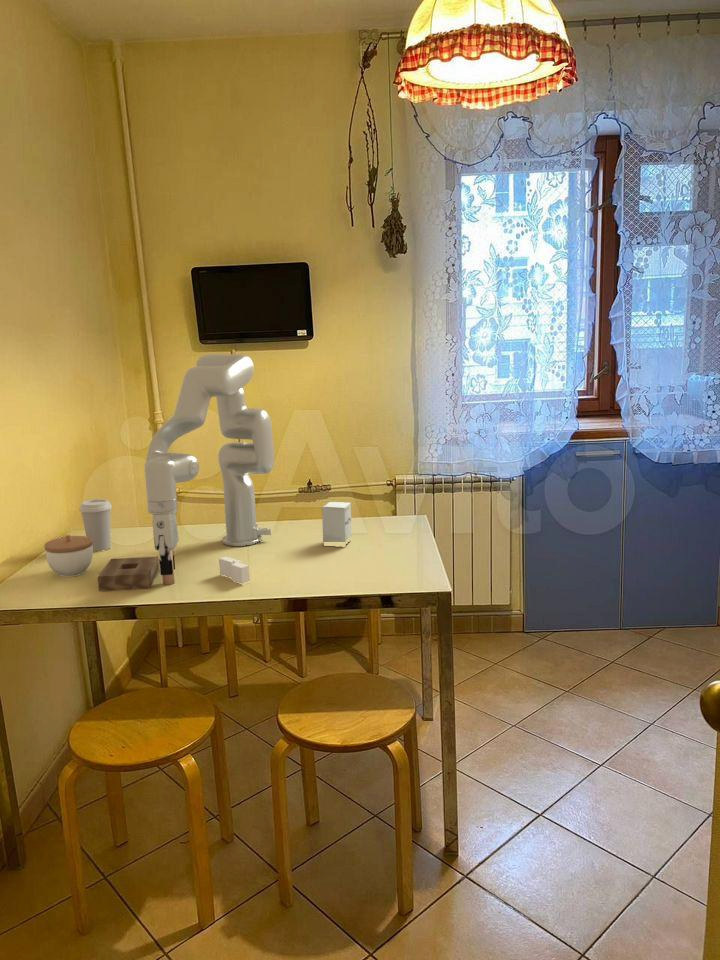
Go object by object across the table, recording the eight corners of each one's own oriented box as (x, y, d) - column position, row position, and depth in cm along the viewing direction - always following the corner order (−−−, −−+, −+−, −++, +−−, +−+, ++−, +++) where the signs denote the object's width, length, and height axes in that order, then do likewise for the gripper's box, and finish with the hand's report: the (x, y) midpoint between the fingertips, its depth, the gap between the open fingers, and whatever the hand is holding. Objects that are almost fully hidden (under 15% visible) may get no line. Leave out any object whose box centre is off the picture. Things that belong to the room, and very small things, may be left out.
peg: (175, 580, 203) (172, 545, 201) (173, 584, 200) (170, 548, 198) (164, 581, 203) (161, 545, 201) (162, 585, 200) (159, 549, 198)
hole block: (159, 570, 212) (158, 556, 212) (149, 588, 198) (148, 573, 197) (112, 572, 211) (111, 558, 211) (98, 591, 197) (97, 576, 196)
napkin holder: (213, 574, 209) (212, 554, 208) (254, 571, 211) (253, 551, 210) (211, 592, 195) (209, 571, 194) (255, 589, 196) (254, 568, 195)
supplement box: (345, 548, 229) (344, 507, 226) (322, 546, 231) (321, 506, 228) (352, 541, 236) (351, 502, 233) (330, 539, 238) (328, 501, 235)
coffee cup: (120, 544, 239) (115, 498, 236) (109, 553, 230) (105, 505, 227) (90, 544, 239) (85, 498, 236) (78, 553, 230) (73, 505, 227)
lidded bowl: (50, 583, 204) (46, 544, 201) (45, 570, 214) (40, 533, 212) (99, 575, 209) (95, 537, 207) (91, 563, 220) (87, 526, 218)
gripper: (172, 512, 189) (177, 581, 193) (181, 497, 205) (186, 562, 209) (141, 513, 189) (147, 583, 193) (153, 499, 205) (159, 563, 209)
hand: (167, 571), depth 201 cm, fingers closed on peg, 3 cm apart
